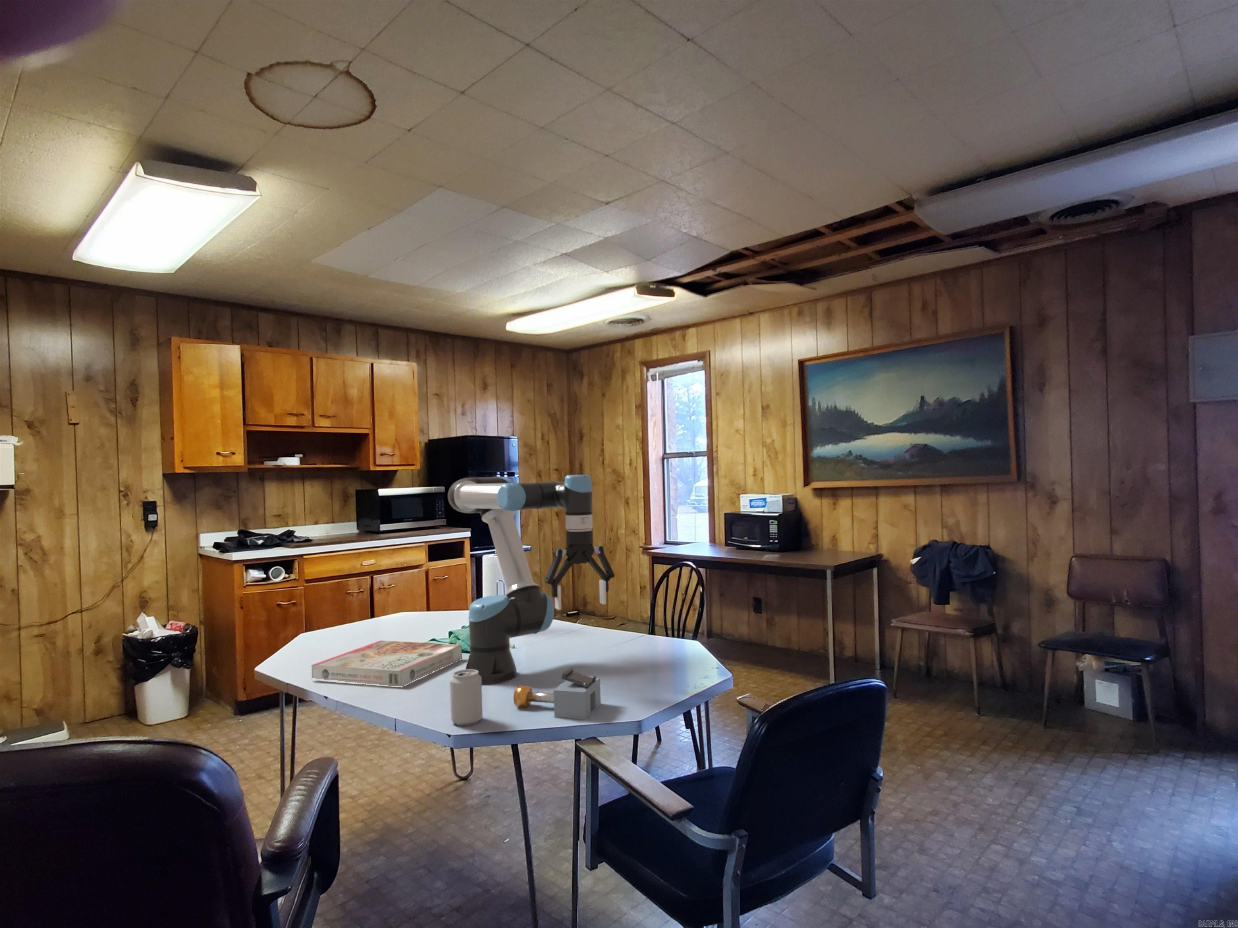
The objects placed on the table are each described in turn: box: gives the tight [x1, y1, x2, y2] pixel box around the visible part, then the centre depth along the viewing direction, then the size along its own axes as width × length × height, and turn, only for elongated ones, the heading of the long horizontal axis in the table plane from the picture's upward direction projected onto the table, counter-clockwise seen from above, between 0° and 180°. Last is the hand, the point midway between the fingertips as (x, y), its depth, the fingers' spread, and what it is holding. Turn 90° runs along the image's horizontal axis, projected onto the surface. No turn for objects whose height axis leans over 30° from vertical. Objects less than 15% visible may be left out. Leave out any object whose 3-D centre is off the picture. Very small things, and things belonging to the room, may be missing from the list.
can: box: [449, 668, 483, 726], centre depth 170 cm, size 8×8×12 cm
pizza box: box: [311, 640, 463, 686], centre depth 220 cm, size 32×5×32 cm
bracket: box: [553, 677, 602, 720], centre depth 175 cm, size 8×12×6 cm, turn 163°
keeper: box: [560, 667, 597, 688], centre depth 175 cm, size 7×7×1 cm
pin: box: [513, 685, 554, 708], centre depth 178 cm, size 13×5×5 cm, turn 73°
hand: (580, 606), depth 195 cm, fingers open, 13 cm apart
